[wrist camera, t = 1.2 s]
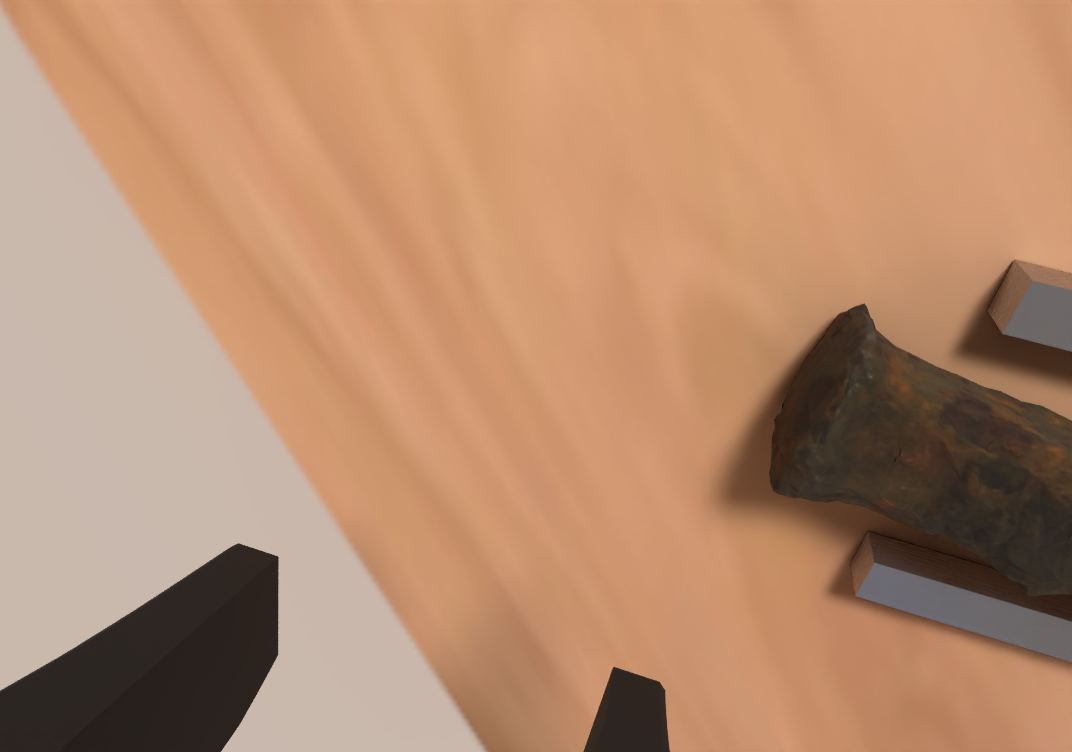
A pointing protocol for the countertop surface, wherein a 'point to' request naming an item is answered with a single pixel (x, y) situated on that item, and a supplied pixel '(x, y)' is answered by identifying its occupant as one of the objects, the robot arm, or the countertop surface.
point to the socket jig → (959, 585)
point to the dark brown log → (929, 453)
